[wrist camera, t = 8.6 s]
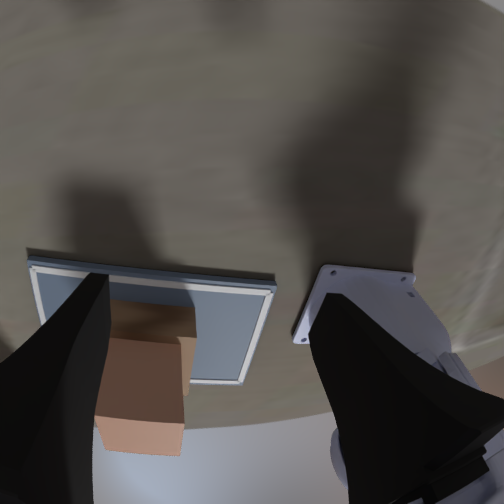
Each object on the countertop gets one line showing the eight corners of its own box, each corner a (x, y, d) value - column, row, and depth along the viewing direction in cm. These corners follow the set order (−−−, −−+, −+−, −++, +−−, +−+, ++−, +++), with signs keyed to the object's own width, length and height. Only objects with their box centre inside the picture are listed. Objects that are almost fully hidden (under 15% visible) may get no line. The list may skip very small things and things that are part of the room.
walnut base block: (195, 307, 23) (197, 338, 20) (186, 367, 26) (187, 395, 24) (99, 297, 21) (90, 327, 19) (106, 359, 24) (101, 388, 22)
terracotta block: (181, 344, 20) (184, 423, 15) (176, 386, 23) (179, 456, 18) (106, 337, 19) (93, 415, 14) (112, 380, 22) (105, 449, 17)
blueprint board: (275, 281, 24) (277, 287, 23) (241, 380, 29) (242, 386, 29) (29, 255, 19) (26, 260, 18) (55, 363, 25) (53, 369, 24)
